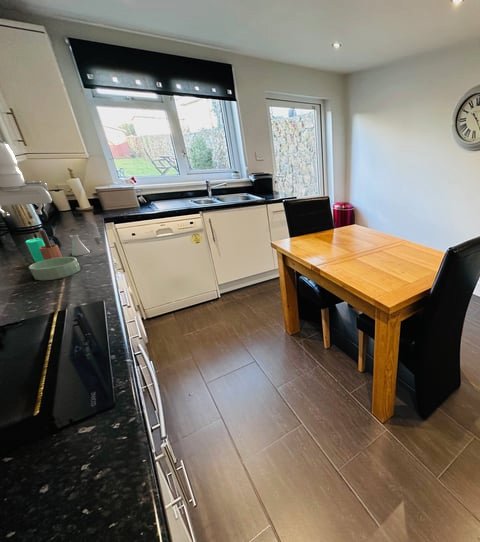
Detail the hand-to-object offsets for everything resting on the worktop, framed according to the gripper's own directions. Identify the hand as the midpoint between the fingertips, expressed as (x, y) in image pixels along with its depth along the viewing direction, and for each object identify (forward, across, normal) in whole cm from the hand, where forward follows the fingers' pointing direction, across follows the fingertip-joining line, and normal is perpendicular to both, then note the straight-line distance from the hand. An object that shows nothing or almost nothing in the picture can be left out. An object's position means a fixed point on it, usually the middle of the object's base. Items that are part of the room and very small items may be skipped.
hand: (23, 215), depth 120 cm
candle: (+24, +1, -10) cm, 26 cm away
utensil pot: (+24, -4, 0) cm, 24 cm away
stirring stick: (+23, -4, 0) cm, 23 cm away
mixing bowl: (+24, -6, +15) cm, 29 cm away
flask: (+24, -12, -12) cm, 29 cm away
